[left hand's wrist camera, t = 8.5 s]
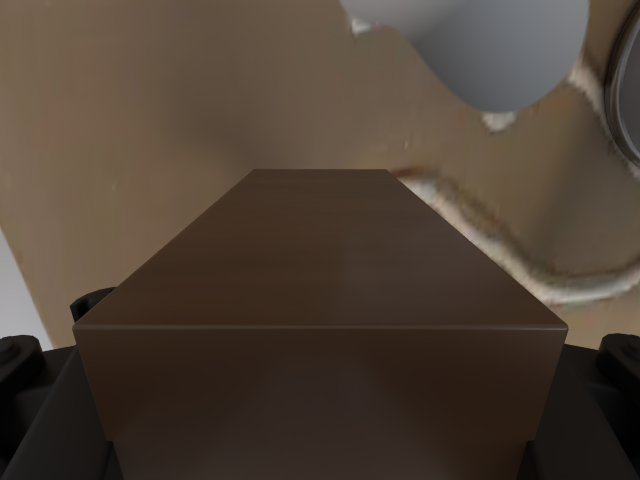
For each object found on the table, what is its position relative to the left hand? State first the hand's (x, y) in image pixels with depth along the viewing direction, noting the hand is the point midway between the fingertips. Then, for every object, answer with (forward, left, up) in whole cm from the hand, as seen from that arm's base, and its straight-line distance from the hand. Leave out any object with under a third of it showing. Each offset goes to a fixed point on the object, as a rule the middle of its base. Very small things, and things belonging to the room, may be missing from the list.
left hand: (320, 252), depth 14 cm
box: (+10, 0, -2) cm, 10 cm away
